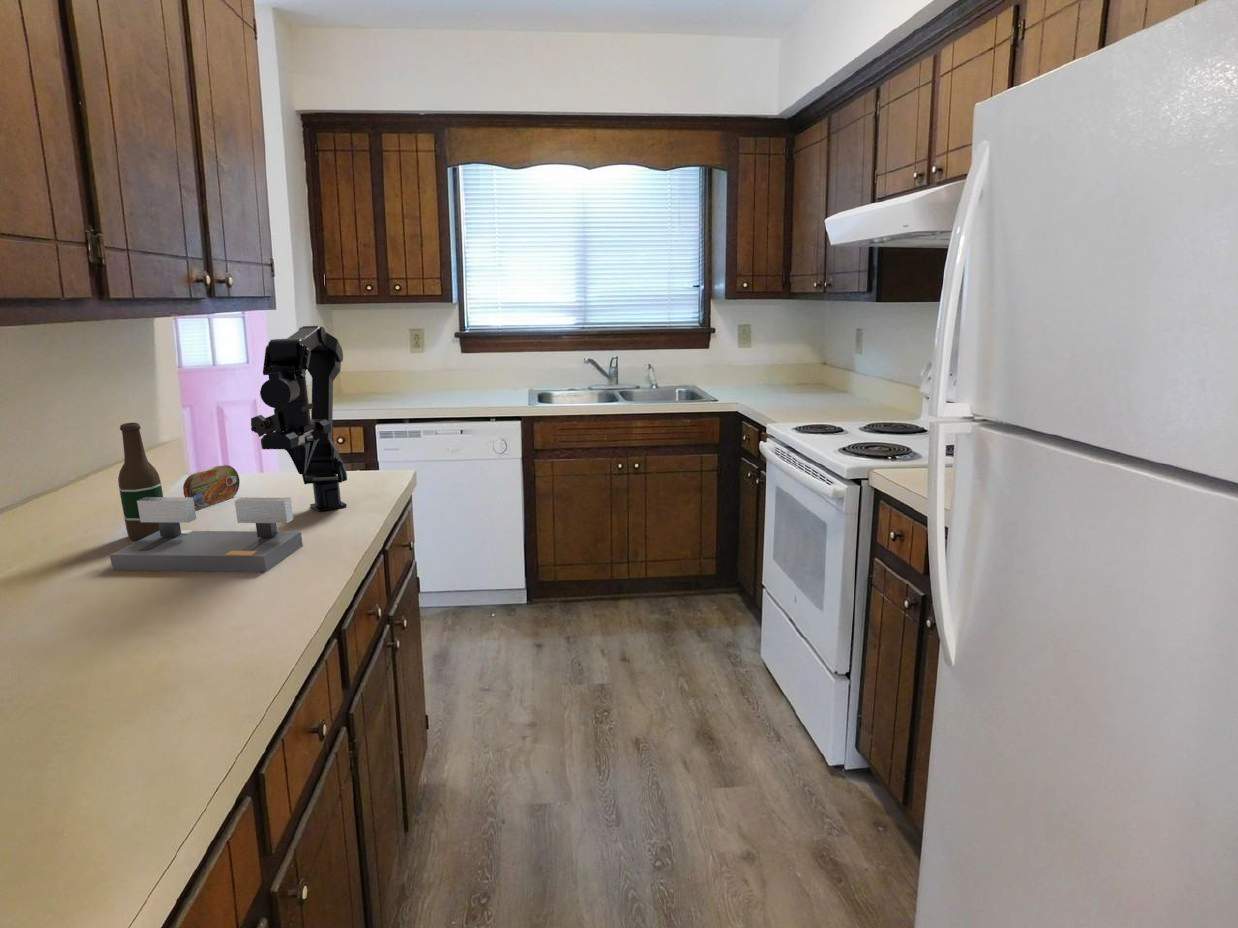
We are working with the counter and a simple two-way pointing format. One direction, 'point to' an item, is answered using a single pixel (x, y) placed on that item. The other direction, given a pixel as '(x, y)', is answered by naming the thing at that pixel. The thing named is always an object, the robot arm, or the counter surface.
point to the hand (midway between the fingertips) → (302, 473)
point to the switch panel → (207, 551)
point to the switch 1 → (167, 513)
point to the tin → (212, 485)
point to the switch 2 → (264, 513)
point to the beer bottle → (136, 482)
